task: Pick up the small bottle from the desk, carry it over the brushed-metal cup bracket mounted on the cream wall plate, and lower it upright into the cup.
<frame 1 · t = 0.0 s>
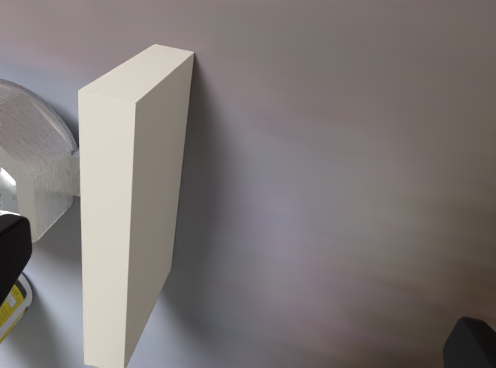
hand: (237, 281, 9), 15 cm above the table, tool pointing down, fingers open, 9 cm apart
supplement bottle: (0, 281, 32), on the table
cup bracket: (11, 176, 22), point 4 cm above the table
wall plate: (139, 207, 22), on the table
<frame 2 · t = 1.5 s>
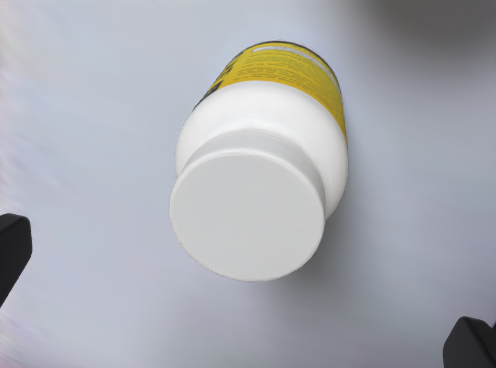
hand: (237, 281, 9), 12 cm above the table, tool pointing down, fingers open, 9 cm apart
supplement bottle: (278, 98, 20), on the table
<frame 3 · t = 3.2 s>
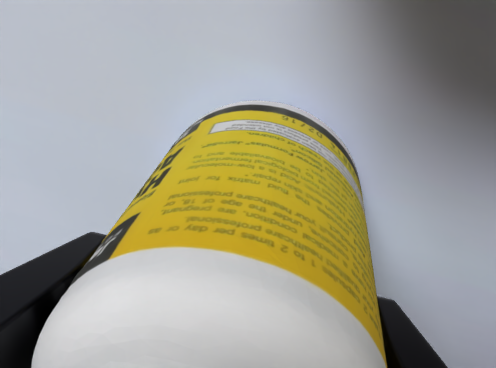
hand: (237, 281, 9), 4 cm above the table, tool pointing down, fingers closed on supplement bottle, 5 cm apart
supplement bottle: (261, 183, 13), on the table, touching gripper
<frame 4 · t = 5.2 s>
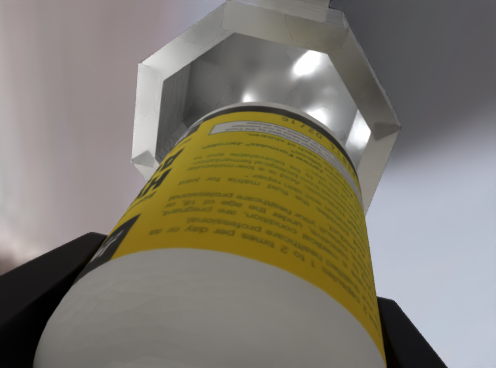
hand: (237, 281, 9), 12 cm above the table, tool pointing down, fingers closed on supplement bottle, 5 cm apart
supplement bottle: (261, 184, 13), point 8 cm above the table, touching gripper
cup bracket: (274, 79, 15), point 4 cm above the table
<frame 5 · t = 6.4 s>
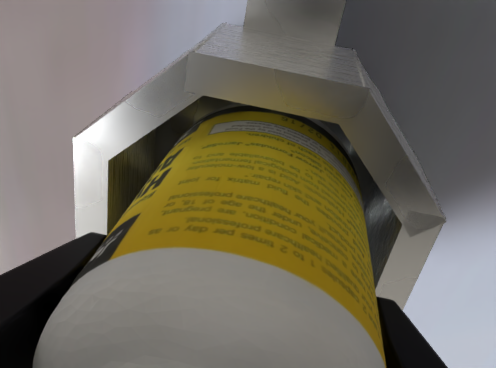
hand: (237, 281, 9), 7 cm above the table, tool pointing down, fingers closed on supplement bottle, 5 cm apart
supplement bottle: (261, 184, 13), point 3 cm above the table, touching gripper
cup bracket: (265, 143, 12), point 4 cm above the table
when the fingers open (7 cm above the table, at t = 7.1 s): supplement bottle stays where it is, resting on cup bracket.
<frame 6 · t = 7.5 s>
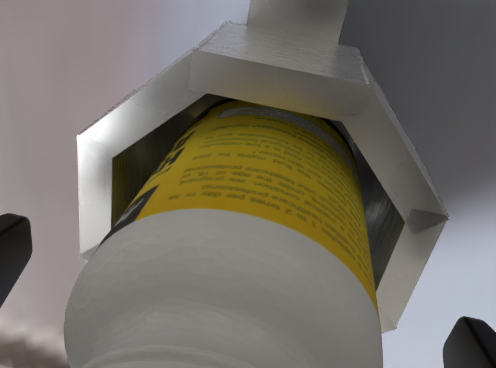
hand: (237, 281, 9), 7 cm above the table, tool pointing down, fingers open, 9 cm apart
supplement bottle: (265, 169, 14), point 2 cm above the table, touching cup bracket
cup bracket: (268, 141, 12), point 4 cm above the table
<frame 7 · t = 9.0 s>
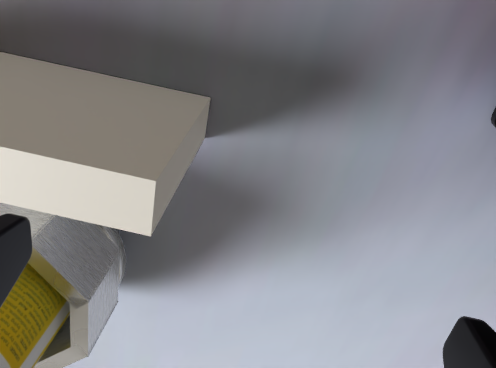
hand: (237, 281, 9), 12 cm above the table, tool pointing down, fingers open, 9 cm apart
supplement bottle: (42, 256, 22), point 2 cm above the table, touching cup bracket
cup bracket: (23, 249, 20), point 4 cm above the table
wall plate: (7, 115, 17), on the table
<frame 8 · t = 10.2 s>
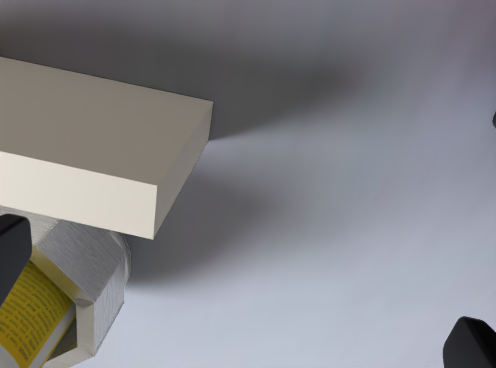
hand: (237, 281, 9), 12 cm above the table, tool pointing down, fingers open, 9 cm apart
supplement bottle: (50, 258, 23), point 2 cm above the table, touching cup bracket
cup bracket: (31, 251, 21), point 4 cm above the table
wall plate: (14, 120, 17), on the table
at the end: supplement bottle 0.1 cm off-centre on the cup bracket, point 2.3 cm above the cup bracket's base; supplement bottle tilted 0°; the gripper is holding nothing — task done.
